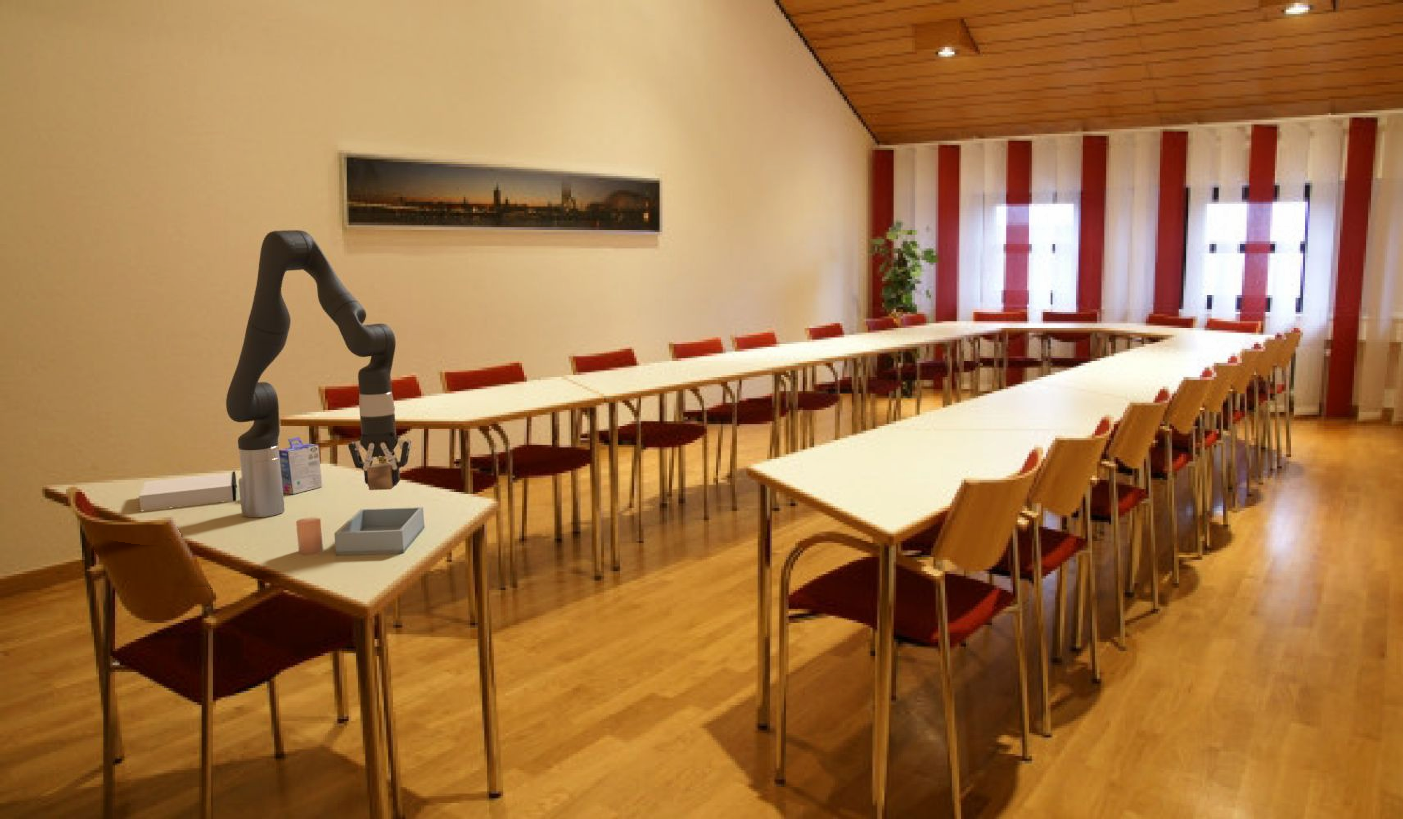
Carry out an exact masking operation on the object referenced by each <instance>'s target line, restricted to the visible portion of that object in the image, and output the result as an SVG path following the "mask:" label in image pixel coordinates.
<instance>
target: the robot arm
mask: <svg viewBox="0 0 1403 819" xmlns="http://www.w3.org/2000/svg"><path fill="white" fill-rule="evenodd" d="M287 271H288V272H289V271H290V272H291V271H304V272H306V273H307V274H308V275H310V277H311V278H312V279H314V282H315V283H316V290H317V292H316V293H317V298H318V302H319V304H320V307H321V308H322V310H323V311H324V312H325V313H326V314H327V316H328V317H329V318H330V319H331V320H332V322H334V324H335V325H336V326H337V328H338V331H339V332H340V335H341V336H342V339H343V341H344V343H345V345H346V348H347V349H348V350H349V351H350V353H352V354H353V355H355V356H357V357H360V358H367V357H370V359H369V363H368V364H367V365H365V366H363V367H361V368H360V369H359V370H358V372H357V381H358V391H359V398H358V402H359V403H358V407H359V418H360V419H359V420H360V421H359V422H360V432H361V433H360V434H361V437H360V440H357V441H355V440H353V441H352V442H350V443H348V445H347V447H348V449H349V450H348V451H349V452H350V456H351V459H352V461H353V464H354V467H355V468H356V469H361V470H362V471H363V473H364V483H365V485H367V487H369V485H368V473H367V468H369V467H370V466H371V465H373V464H374V460H375V458H377V457H384V458H386V460H387V461H388V463H390V465H391V467H392V470H391V471H392V484H393V486H394V487H396V486H397V485H398V483H399V482H400V481H401V474H400V473H401V472H400V468H403V467H405V466H407V464H408V461H409V455H410V450H411V444H412V441H411V440H410V439H406V440H405V439H401V438H399V437H398V434H397V429H396V428H397V427H396V416H395V415H396V414H395V410H396V408H395V407H396V406H395V403H394V401H395V400H394V396H393V392H392V390H393V388H392V378H391V373H392V372H391V371H392V368H393V364H394V363H393V362H394V359H395V352H396V346H397V345H396V344H397V342H396V337H395V336H396V335H395V333H394V331H393V330H392V328H391V327H390V326H389V325H388V324H385V323H373V324H364V323H365V321H366V320H367V319H366V318H367V312H366V310H365V308H364V307H363V305H362V304H361V303H360V302H359V301H358V300H357V299H356V298H355V296H353V294H352V293H351V292H350V291H349V290H348V289H347V288H346V287H345V285H344V284H343V282H341V280H340V278H339V277H338V275H337V273H336V272H335V271H334V268H333V267H332V265H331V264H330V262H329V260H328V258H327V257H326V256H325V254H324V252H323V250H322V249H321V247H320V246H319V244H318V243H317V241H316V240H315V239H314V237H313V236H312V235H311V234H310V233H309V232H307V231H304V230H299V229H297V230H296V229H289V230H286V229H285V230H284V229H283V230H273V231H270V232H269V233H267V234H266V235H265V236H264V239H263V240H262V243H261V246H260V254H259V262H258V270H257V279H256V285H255V291H254V294H253V295H254V296H253V301H252V305H251V309H250V314H249V316H248V320H247V325H246V329H245V333H244V339H243V344H242V348H241V351H240V355H239V358H238V363H237V365H236V368H235V370H234V374H233V376H232V379H231V381H230V384H229V387H228V390H227V393H226V398H225V400H226V401H225V406H226V407H225V408H226V413H227V415H228V417H229V418H230V419H231V421H234V422H236V423H247V422H253V424H252V425H251V427H250V428H249V429H248V430H247V431H246V432H244V433H242V434H241V435H240V436H239V437H238V438H237V448H238V454H239V467H240V474H241V478H239V479H238V489H239V498H240V509H241V516H242V517H249V518H267V517H272V516H277V515H280V514H282V513H284V512H285V500H284V493H283V487H282V477H281V467H280V456H279V450H280V448H279V447H280V446H279V436H280V407H279V398H278V394H277V391H276V389H275V388H274V386H273V385H272V384H271V383H269V382H266V381H259V380H260V378H261V376H262V375H263V373H264V372H265V371H266V370H267V368H268V367H269V366H270V365H271V364H272V363H273V362H274V360H276V358H277V357H278V356H279V355H280V354H281V352H282V351H283V350H284V349H285V345H286V342H287V339H288V336H289V335H288V334H289V332H290V328H291V315H290V313H289V312H290V311H289V309H288V306H287V305H286V302H285V300H284V297H283V295H282V286H283V282H284V276H285V274H286V273H287ZM397 446H399V449H400V450H401V453H400V460H398V457H397V454H396V451H395V449H396V447H397ZM361 447H362V448H363V449H364V450H365V451H366V454H365V458H364V460H363V458H362V456H361V452H360V450H361Z"/></svg>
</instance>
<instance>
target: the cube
mask: <svg viewBox="0 0 1403 819" xmlns="http://www.w3.org/2000/svg"><path fill="white" fill-rule="evenodd" d="M391 470H392V467H391V465H390V463H389V462H388V463H372V465H371V466H370V467H369V468H367V473H368V484H367V486H368V485H369V486H368V491H378V490H380V491H381V490H382V491H385V490H392V489H393V488H394V487H395V486H393V484H392V471H391Z"/></svg>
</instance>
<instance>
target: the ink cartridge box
mask: <svg viewBox="0 0 1403 819" xmlns="http://www.w3.org/2000/svg"><path fill="white" fill-rule="evenodd" d="M287 440H288V442H289V443H288V444H289V446H290V447H285V448H281V449H279V456H280V467H281V477H282V487H283V494H284V493H285V494H289V495H295V494H299V493H303V492H307V491H310V490H315V489H319V488H323V479H322V469H321V460H320V448H319V445H318V444H313V443H303V442H302V440H301V437H298V436H297V437H294V438H289V439H287ZM294 441H296V442H295V443H292V442H294ZM297 441H298V442H297Z"/></svg>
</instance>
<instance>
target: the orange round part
mask: <svg viewBox="0 0 1403 819" xmlns="http://www.w3.org/2000/svg"><path fill="white" fill-rule="evenodd" d="M321 523H322V522H321V518H320V517H305V518H301V519H297V520H296V522H295V524H296V532H297V533H296V534H297V543H298V544H297V545H298V553H299V555H304V556H305V555H306V556H307V555H308V556H309V555H315V554H319V553H321V552H323V551H324V545H323V533H322V524H321Z"/></svg>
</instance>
